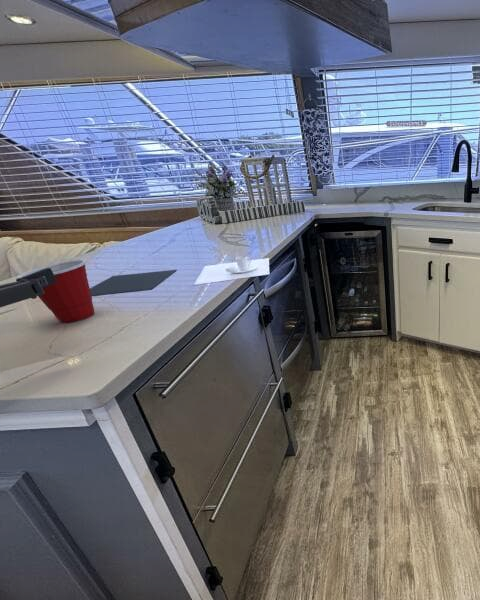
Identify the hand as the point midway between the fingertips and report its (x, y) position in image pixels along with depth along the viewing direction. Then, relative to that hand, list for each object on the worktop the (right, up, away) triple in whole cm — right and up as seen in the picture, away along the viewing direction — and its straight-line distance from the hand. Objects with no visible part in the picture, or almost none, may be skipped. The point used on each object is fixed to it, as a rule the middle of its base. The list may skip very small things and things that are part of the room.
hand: (6, 279), depth 58 cm
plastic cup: (-2, -8, +15) cm, 17 cm away
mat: (-8, +1, +36) cm, 37 cm away
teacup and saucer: (+19, +6, +44) cm, 48 cm away
